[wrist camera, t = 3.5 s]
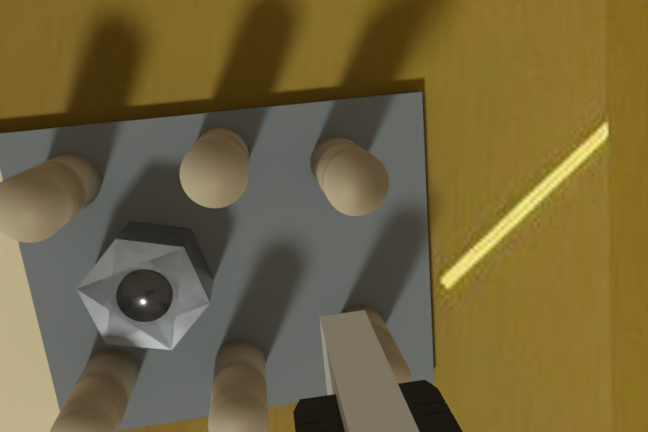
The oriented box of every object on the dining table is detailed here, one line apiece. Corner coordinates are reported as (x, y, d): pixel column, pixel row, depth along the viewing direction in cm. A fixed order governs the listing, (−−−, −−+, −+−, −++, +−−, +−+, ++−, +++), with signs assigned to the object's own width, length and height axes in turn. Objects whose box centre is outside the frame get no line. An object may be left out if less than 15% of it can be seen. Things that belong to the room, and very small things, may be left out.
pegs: (93, 405, 29) (58, 480, 24) (34, 145, 25) (-23, 165, 20) (385, 361, 30) (414, 422, 25) (369, 111, 27) (398, 121, 22)
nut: (133, 339, 28) (120, 371, 25) (80, 239, 27) (59, 260, 24) (225, 303, 28) (222, 330, 25) (178, 201, 27) (169, 218, 24)
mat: (-130, 461, 29) (-138, 469, 28) (-240, 156, 24) (-252, 158, 24) (430, 375, 32) (434, 381, 31) (418, 91, 28) (422, 91, 27)
